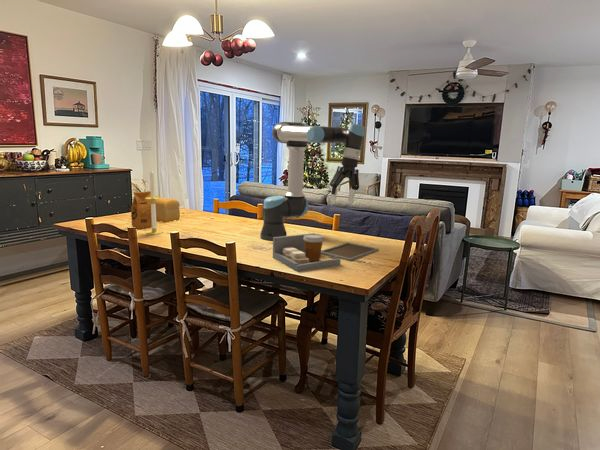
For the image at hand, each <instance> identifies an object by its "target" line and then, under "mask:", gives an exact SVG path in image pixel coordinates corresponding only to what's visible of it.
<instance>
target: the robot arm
mask: <svg viewBox="0 0 600 450" xmlns="http://www.w3.org/2000/svg"><path fill="white" fill-rule="evenodd" d="M365 130H366V127H365V126H364V125H361V124H356V123H349V125H348V127H341V126H323V125H322V126H320V125H309V124H307V123H305V122H297V121H296V122H294V121H281V122H278V123H276V124H275V125H274V127H273V128H272V131H271V132H272V133H271V134H272V137H273V139H274V141H276V142H278V143H279V144H286V147H287V149H288V166H287V167H288V169H287V170H288V171H287V172H288V175H287V192H285V193H284V195H273V196H268V197H265V199H264V200H263V207H262V208H263V225H262V227H261V230H260V232H259V233H260V235H259V236H260V237H259V238H260V239H262V240H265V241H266V240H267V241H273V237H282V236H288V233H287V230H286V227H285V219H295V218H302V217H304V216H305V215H306V214H307V213H308V210H309V202H308V199H307V197H305V196H306V194H304V192H303V188H304V187H303V183H304V164H305V161H304V160H305V150H307V148H308V144H310V143H315V144H321V143H322V144H343V145H344V149H343V154H342V155H343V157H342V159H341V165H342V166H337V168H336V171H335V173H334V174H333V177H332V179H331V181H330V183H329V186H330V187H331V192H330V199H329V201H330V202H333V203H336V201H337V196H338V195H337V194H338V191H339V188H338V187H339V185H340V184H341V183H343V181H344V179H346V178H347V179H348V182H349V184H350V187H351V188H350V189H349V193H348V197H347V203H351V204H352V203H353V202H354V200H355V199H354V198H355V195H356V191H358V190H359V189H360V180H359V172H360V171H359V170H360V169H357V168H358V164H359V159H360V154H361V150H362V145H363V141H364V137H365Z"/></svg>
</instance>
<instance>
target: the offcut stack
mask: <svg viewBox="0 0 600 450" xmlns="http://www.w3.org/2000/svg"><path fill="white" fill-rule="evenodd" d="M282 255H283V256H285V257H287V258H289V259H291V260H293V261H295V262H297V263H298V264H305V263H310V262H309V259H308V258H306V254H305V253H304V252H302V251H300V250H298V249H296V248H293V247H287V248H283V252H282Z"/></svg>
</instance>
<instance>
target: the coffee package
mask: <svg viewBox="0 0 600 450" xmlns="http://www.w3.org/2000/svg"><path fill="white" fill-rule="evenodd" d="M146 197H151V190H147V191H143V192H141V191H134V192H133V199H132V203H131V207H130V208H131V209H130V210H131V211H130V212H131V214H130V216H131V217H130V219H131V227H132V228H134V227H136V228H137V230H141V229H149V228H148V227H150V228H152V217H151V200H149V199H145V198H146ZM136 228H135V229H136Z"/></svg>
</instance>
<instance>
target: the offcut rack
mask: <svg viewBox="0 0 600 450" xmlns="http://www.w3.org/2000/svg"><path fill="white" fill-rule="evenodd" d="M306 234H307V233H304V234H303V233H302V234H294V235H287V236H282V237H273V240H272V258H273V259H275V260H276V261H277V262H279V263H281V264H283V265H284V266H287V267H288V268H290V269H292V270H294V271H295V272H301V271H307V270H308V271H309V270H314V269H321V268H328V267H334V266H341V260H342V259H339V258H336V259H326V260H319V262H309V263H305V264H298V263H297V262H295V261H293V260H291V259H289V258H287V257H285V256H283V255H282V252H283V248H287V247H293V248H296V249H298V250H300V251H302V252H304V253H305V243H304V239H303V238H304V235H306ZM309 234H316V233H315V232H313V233H311V232H310V233H309Z"/></svg>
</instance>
